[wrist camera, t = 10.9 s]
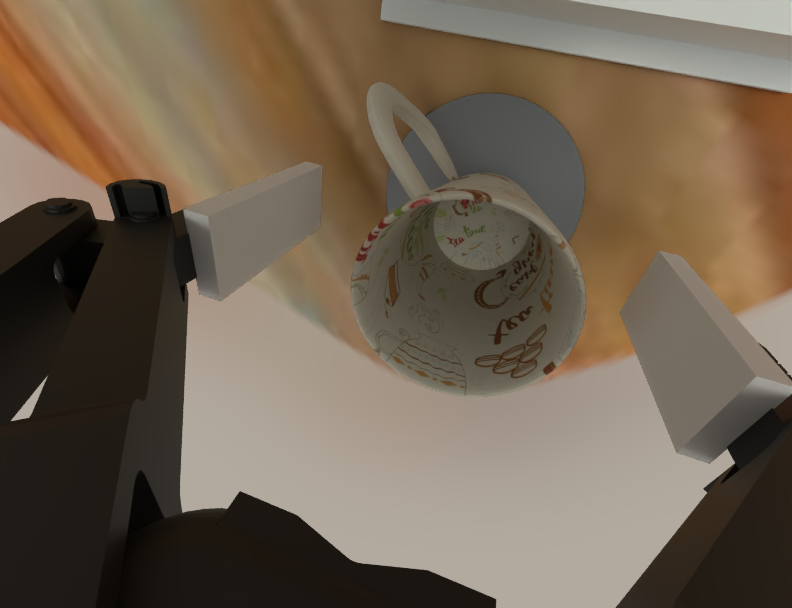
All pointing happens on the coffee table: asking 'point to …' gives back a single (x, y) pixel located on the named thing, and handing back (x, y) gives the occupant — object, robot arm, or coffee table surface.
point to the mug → (463, 273)
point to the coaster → (503, 153)
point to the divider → (630, 32)
